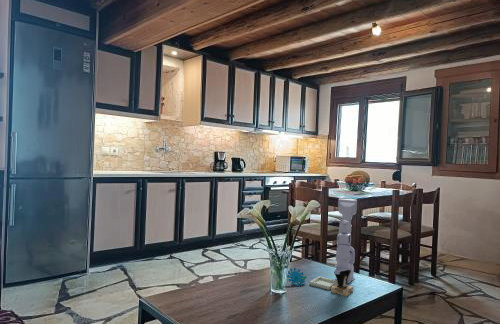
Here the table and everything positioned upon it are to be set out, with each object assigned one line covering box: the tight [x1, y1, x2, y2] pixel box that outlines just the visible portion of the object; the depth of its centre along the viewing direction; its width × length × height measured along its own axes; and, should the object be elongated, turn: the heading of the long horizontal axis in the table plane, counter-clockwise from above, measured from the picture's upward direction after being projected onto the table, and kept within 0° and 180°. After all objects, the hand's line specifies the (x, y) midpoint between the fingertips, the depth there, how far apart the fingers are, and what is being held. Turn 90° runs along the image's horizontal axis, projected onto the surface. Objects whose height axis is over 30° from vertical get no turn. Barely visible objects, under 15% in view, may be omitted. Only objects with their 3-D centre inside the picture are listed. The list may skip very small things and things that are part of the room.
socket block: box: [330, 283, 354, 297], centre depth 173 cm, size 8×8×2 cm
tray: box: [309, 275, 338, 291], centre depth 182 cm, size 11×11×2 cm
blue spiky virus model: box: [286, 267, 308, 287], centre depth 183 cm, size 11×6×10 cm
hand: (342, 285), depth 173 cm, fingers closed on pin, 4 cm apart
